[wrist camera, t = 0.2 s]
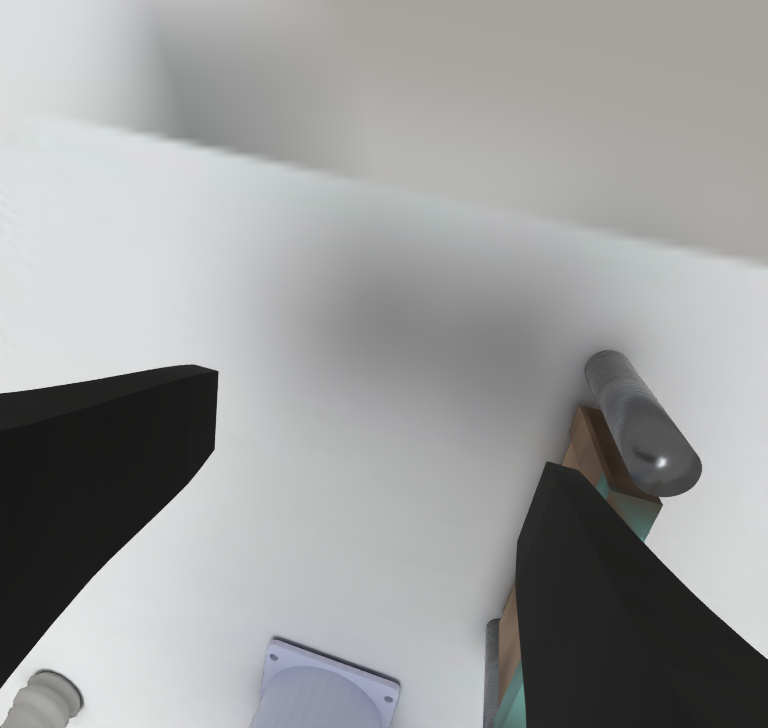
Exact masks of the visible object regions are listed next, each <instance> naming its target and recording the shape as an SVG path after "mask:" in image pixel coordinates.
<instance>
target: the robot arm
mask: <svg viewBox="0 0 768 728" xmlns="http://www.w3.org/2000/svg"><path fill="white" fill-rule="evenodd" d="M217 390H218V371H216V370H212V369H208V368H205V367H201V366H197V365H179V366H171V367H164V368H158V369H152V370H146V371H141V372H135V373H130V374H124V375H119V376H113V377H108V378H103V379H97V380H91V381H85V382H79V383H72V384H66V385H60V386H53V387H47V388H41V389H34V390H26V391H19V392H10V393H1V394H0V688H1V687H2V686H3V684H4V683H5V682H6V681H7V679H8V678H9V677H10V675H11V674H12V673H13V672H14V670H15V669H16V668H17V667H18V666H19V664H20V663H21V662H22V661H23V659H24V658H25V657H26V656H27V654H28V653H29V652H30V651H31V650H32V648H33V647H34V646H35V645H36V643H37V642H38V641H39V640H40V638H41V637H42V636H43V635H44V634H45V632H46V631H47V630H48V629H49V627H50V626H51V625H52V624H53V623H54V621H55V620H56V619H57V618H58V617H59V616H60V614H61V613H62V612H63V611H64V610H65V609H66V607H67V606H68V605H69V604H70V603H71V602H72V600H73V599H74V598H75V597H76V596H77V595H78V593H79V592H80V591H81V590H82V589H83V588H84V586H85V585H86V584H87V583H88V582H89V581H90V580H91V578H92V577H93V576H94V575H95V574H96V573H97V572H98V571H99V570H100V569H101V568H102V567H103V566H104V565H105V564H106V563H107V562H108V561H109V560H110V559H111V558H112V557H113V556H114V555H115V554H116V553H117V552H118V551H119V550H120V549H121V548H122V547H123V546H124V545H125V544H127V543H128V542H129V541H130V540H131V539H132V538H133V537H134V536H135V535H136V534H137V533H138V532H139V531H140V530H141V529H142V528H143V527H144V526H145V525H146V524H147V523H148V522H149V521H151V520H152V519H153V518H154V517H155V516H156V515H157V514H158V513H159V512H160V511H161V510H162V509H163V508H164V507H165V506H166V505H167V504H168V503H169V502H170V501H171V500H172V499H173V498H174V497H175V496H176V495H177V494H178V493H179V492H180V491H181V490H182V489H183V488H184V487H185V486H186V485H187V484H188V483H189V482H190V481H191V479H192V478H193V477H194V476H195V474H196V473H197V472H198V471H199V470H200V468H201V467H202V466H203V464H204V463H205V462H206V460H207V459H208V458H209V456H210V455H211V454H212V452H213V451H214V449H215V429H216V410H217ZM515 590H516V604H517V616H518V628H519V640H520V651H521V662H522V674H523V685H524V697H525V710H526V728H768V659H766V658H765V657H764V656H763V655H762V654H760V653H759V652H758V651H757V650H756V649H754V648H753V647H752V646H751V645H750V644H749V643H747V642H746V641H745V640H744V639H743V638H742V637H741V636H740V635H738V634H737V633H736V632H735V631H734V630H733V629H732V628H731V627H729V626H728V625H727V624H726V623H725V622H724V621H723V620H721V619H720V618H719V617H718V616H717V615H716V614H715V613H714V612H712V611H711V610H710V609H709V608H708V607H707V606H706V605H705V604H704V603H703V602H702V601H701V600H700V599H699V598H697V597H696V596H695V595H694V594H693V593H692V592H691V591H690V590H689V589H688V588H687V587H686V586H685V585H684V584H683V583H682V582H681V581H680V580H679V579H678V578H677V577H676V576H675V575H674V574H673V573H672V572H671V571H670V570H669V569H668V568H667V567H666V566H665V565H664V564H663V563H662V562H661V561H660V560H659V559H658V557H657V556H656V555H655V554H654V553H653V552H652V551H651V550H650V549H649V548H648V547H647V546H646V545H645V544H644V543H643V541H642V540H641V539H640V538H639V537H638V536H637V535H636V534H635V533H634V532H633V530H632V529H631V528H630V527H629V526H628V525H627V524H626V523H625V521H624V520H623V519H622V518H621V517H620V516H619V515H618V513H617V512H616V511H615V510H614V509H613V508H612V507H611V505H610V504H609V503H608V502H607V501H606V500H605V499H604V497H603V496H602V495H601V494H600V493H599V492H598V490H597V489H596V488H595V487H594V486H593V485H592V484H591V483H590V482H589V480H588V479H587V478H586V477H585V476H584V475H583V474H582V473H581V472H580V471H579V470H577V469H573V468H569V467H566V466H562V465H558V464H555V463H551V462H546V465H545V467H544V470H543V473H542V476H541V478H540V481H539V484H538V486H537V489H536V492H535V495H534V497H533V500H532V503H531V505H530V508H529V511H528V514H527V516H526V519H525V522H524V524H523V527H522V530H521V532H520V535H519V538H518V541H517V557H516V580H515ZM399 694H400V687H399V686H398V685H397V684H396V683H395V682H392V681H390V680H387V679H384V678H381V677H378V676H376V675H373V674H370V673H367V672H365V671H362V670H359V669H356V668H354V667H351V666H348V665H345V664H342V663H340V662H337V661H334V660H331V659H329V658H326V657H323V656H320V655H318V654H315V653H312V652H309V651H307V650H304V649H301V648H298V647H295V646H293V645H290V644H287V643H284V642H282V641H279V640H271V641H270V642H269V644H268V646H267V651H266V659H265V666H264V674H263V682H262V690H261V698H260V704H259V707H258V709H257V711H256V713H255V715H254V717H253V719H252V722H251V724H250V726H249V728H390V724H391V721H392V718H393V714H394V711H395V708H396V704H397V701H398V698H399Z"/></svg>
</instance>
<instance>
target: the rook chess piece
mask: <svg viewBox="0 0 768 728" xmlns="http://www.w3.org/2000/svg"><path fill="white" fill-rule="evenodd" d="M27 683H28V687H25V688H22V689H20V690H19V692H18V693H17V695H16V697H15V699H14V701H13V707H12V708H10V710H9V712H8V717H7V718H6V720H5V721H4V723H3V724H2V726H1V727H0V728H65V727H66V726H67V724H68V722H69V718H72V717H75V716H76V715H77V714H78V712H79V709H80V703H81V701H80V695H79V693H78V691H77V689H76V688H75V687H74V686H73V685H72V684H71V683H70V682H69V681H68V680H66V679H65V678H63V677H62V676H60V675H58V674H55V673H52V672H43V673H40V674H37V675H34V676H32V677H30V679H29V680H28V682H27Z"/></svg>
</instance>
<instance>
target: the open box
mask: <svg viewBox="0 0 768 728" xmlns="http://www.w3.org/2000/svg"><path fill="white" fill-rule="evenodd" d="M569 433H570V437H571V442H570V445H569V447H568V450H567V452H566V455H565V457H564V460H563V462H562V466H566V467H569V468H573V469H577V470H579V471H580V472H581V473H582V474H583V475H584V476H585V477H586V478H587V479H588V480H589V482H590V483H591V484H592V485H593V486H594V487H595V488H596V489H597V490H598V492H599V493H600V494H601V495H602V496H603V497H604V499H605V500H606V501H607V502H608V503H609V504H610V505H611V507H612V508H613V509H614V510H615V511H616V512H617V513H618V515H619V516H620V517H621V518H622V519H623V520H624V521H625V523H626V524H627V525H628V526H629V527H630V528H631V529H632V530H633V532H634V533H635V534H636V535H637V536H638V537H639V538H640V539H641V540H642V541H643V543H644V541H645V539H646V537H647V535H648V533H649V531H650V529H651V527H652V525H653V523H654V521H655V519H656V518H657V516H658V514H659V512H660V510H661V508H662V506H663V504H662V502H661V501H660V499H659V497H658V496H653V495H650V494H647V493H645V492H643V491H642V490H640V489H639V488H638V487H637V486H636V485H635V484H634V482H633V480H632V478H631V476H630V474H629V472H628V469H627V467H626V465H625V463H624V460H623V458H622V456H621V454H620V452H619V449H618V447H617V445H616V443H615V440H614V438H613V436H612V434H611V431H610V429H609V427H608V425H607V423H606V420H605V418H604V416H603V414H602V411H600V410H597V409H593V408H589V407H585V406H581V405H579V407H578V410H577V412H576V415H575V417H574V420H573V423H572V425H571V428H570V430H569ZM494 728H526V710H525V697H524V685H523V674H522V662H521V651H520V640H519V628H518V616H517V604H516V590H515V584H514V587H513V589H512V592H511V594H510V597H509V599H508V602H507V604H506V607H505V609H504V612H503V615H502V617H501V620H500V622H499V709H498V711H497V714H496V716H495V718H494Z"/></svg>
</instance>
